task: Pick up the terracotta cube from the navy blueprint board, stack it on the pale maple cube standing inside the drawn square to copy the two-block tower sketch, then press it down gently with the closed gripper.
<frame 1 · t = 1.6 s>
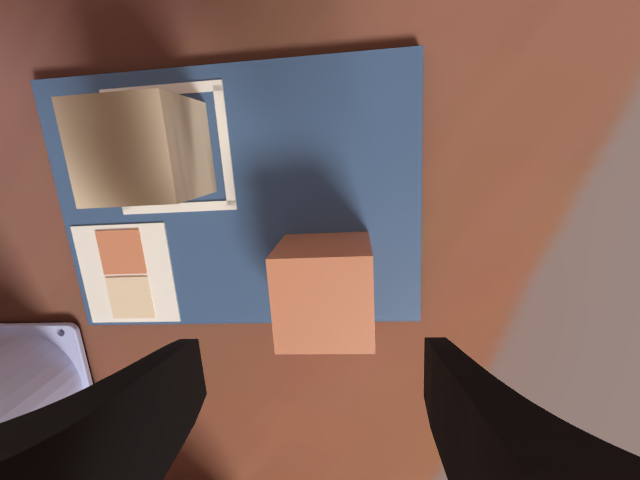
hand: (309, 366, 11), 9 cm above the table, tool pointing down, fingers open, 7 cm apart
blueprint board: (235, 203, 20), on the table
maple cube: (170, 151, 19), point 1 cm above the table, touching blueprint board
terracotta cube: (328, 272, 20), point 1 cm above the table, touching blueprint board
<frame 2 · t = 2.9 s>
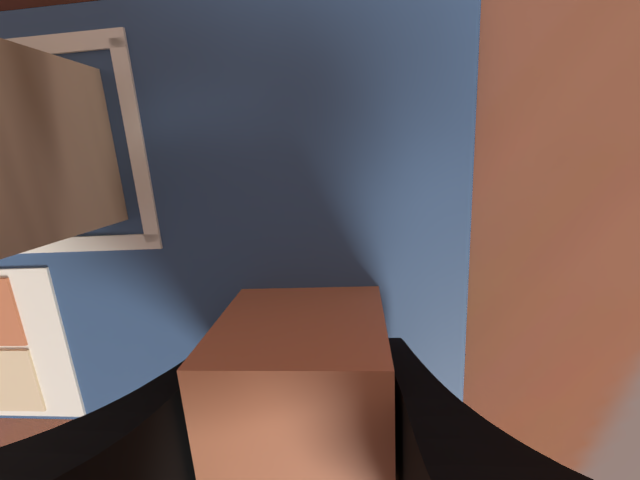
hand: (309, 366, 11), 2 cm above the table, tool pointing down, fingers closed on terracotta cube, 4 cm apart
blueprint board: (163, 236, 12), on the table
maple cube: (48, 152, 11), point 1 cm above the table, touching blueprint board
terracotta cube: (313, 349, 12), point 1 cm above the table, touching blueprint board, gripper
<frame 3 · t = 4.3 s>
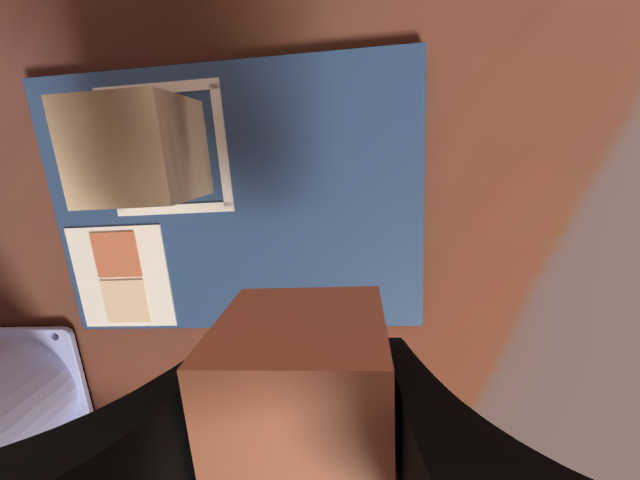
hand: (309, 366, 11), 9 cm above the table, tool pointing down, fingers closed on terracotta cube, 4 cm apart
blueprint board: (233, 204, 19), on the table
maple cube: (166, 151, 18), point 1 cm above the table, touching blueprint board
terracotta cube: (313, 349, 12), point 8 cm above the table, touching gripper
when the fingers open (7 cm above the table, at t = 5.8 s): terracotta cube drops 1 cm, resting on maple cube.
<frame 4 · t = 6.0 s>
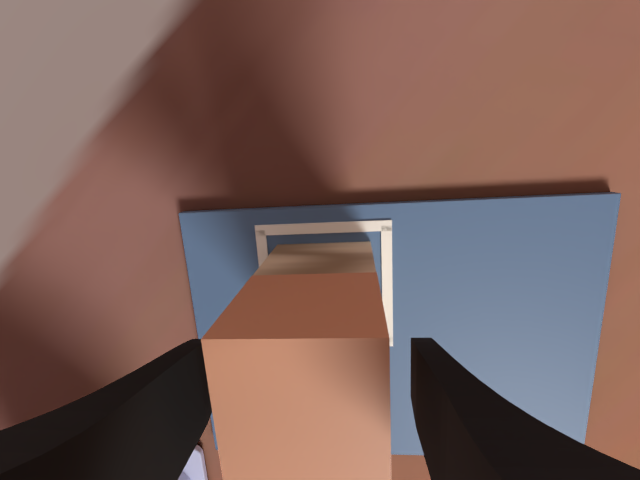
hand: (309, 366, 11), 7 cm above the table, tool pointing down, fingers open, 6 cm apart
blueprint board: (386, 334, 19), on the table
maple cube: (325, 286, 18), point 1 cm above the table, touching blueprint board, terracotta cube
terracotta cube: (317, 330, 13), point 5 cm above the table, touching maple cube
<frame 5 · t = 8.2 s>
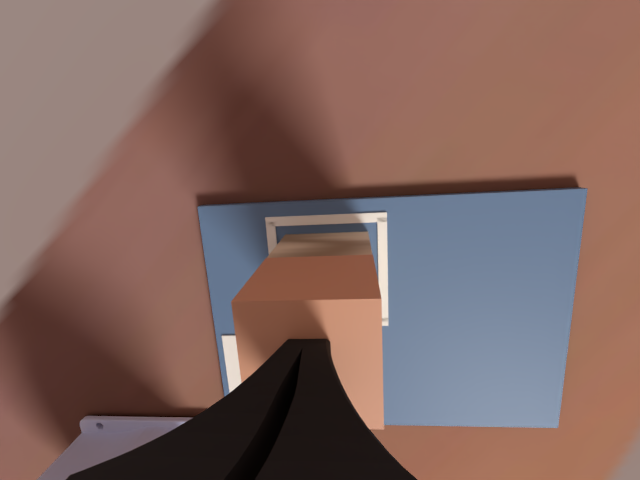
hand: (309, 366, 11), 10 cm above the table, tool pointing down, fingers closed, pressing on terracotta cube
blueprint board: (382, 316, 21), on the table
maple cube: (328, 272, 20), point 1 cm above the table, touching blueprint board, terracotta cube
terracotta cube: (321, 305, 15), point 5 cm above the table, touching gripper, maple cube
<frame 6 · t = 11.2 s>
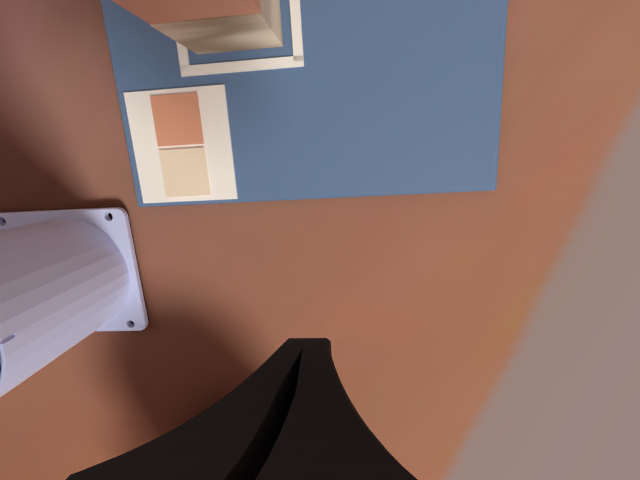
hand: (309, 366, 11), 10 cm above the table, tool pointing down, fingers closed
blueprint board: (300, 64, 19), on the table
maple cube: (234, 0, 18), point 1 cm above the table, touching blueprint board, terracotta cube
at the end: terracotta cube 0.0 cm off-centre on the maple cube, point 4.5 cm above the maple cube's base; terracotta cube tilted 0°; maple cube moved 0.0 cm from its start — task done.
